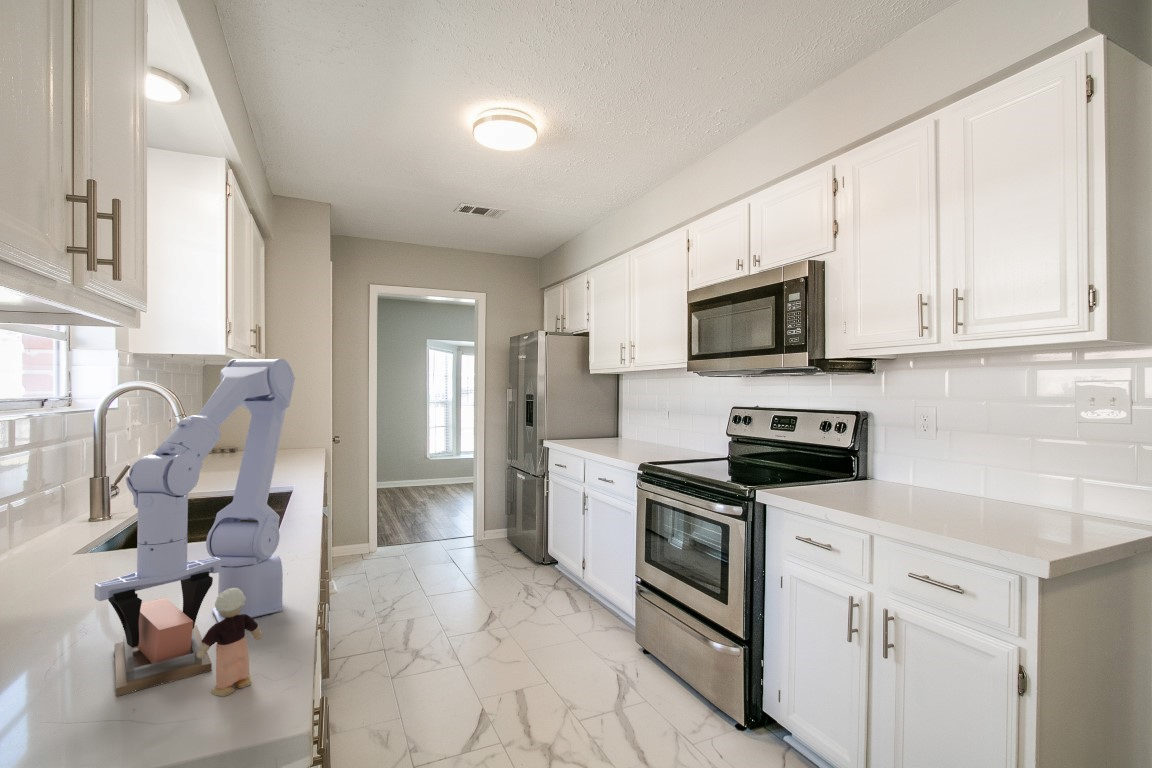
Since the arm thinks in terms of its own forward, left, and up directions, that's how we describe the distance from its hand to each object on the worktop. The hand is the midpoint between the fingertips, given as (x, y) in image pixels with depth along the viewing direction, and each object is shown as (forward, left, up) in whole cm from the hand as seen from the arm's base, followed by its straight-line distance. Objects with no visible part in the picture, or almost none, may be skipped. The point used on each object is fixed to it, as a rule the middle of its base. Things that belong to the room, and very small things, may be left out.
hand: (161, 635), depth 78 cm
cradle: (0, 0, -3) cm, 3 cm away
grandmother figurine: (-6, +15, -4) cm, 17 cm away
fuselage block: (0, 0, -2) cm, 2 cm away
